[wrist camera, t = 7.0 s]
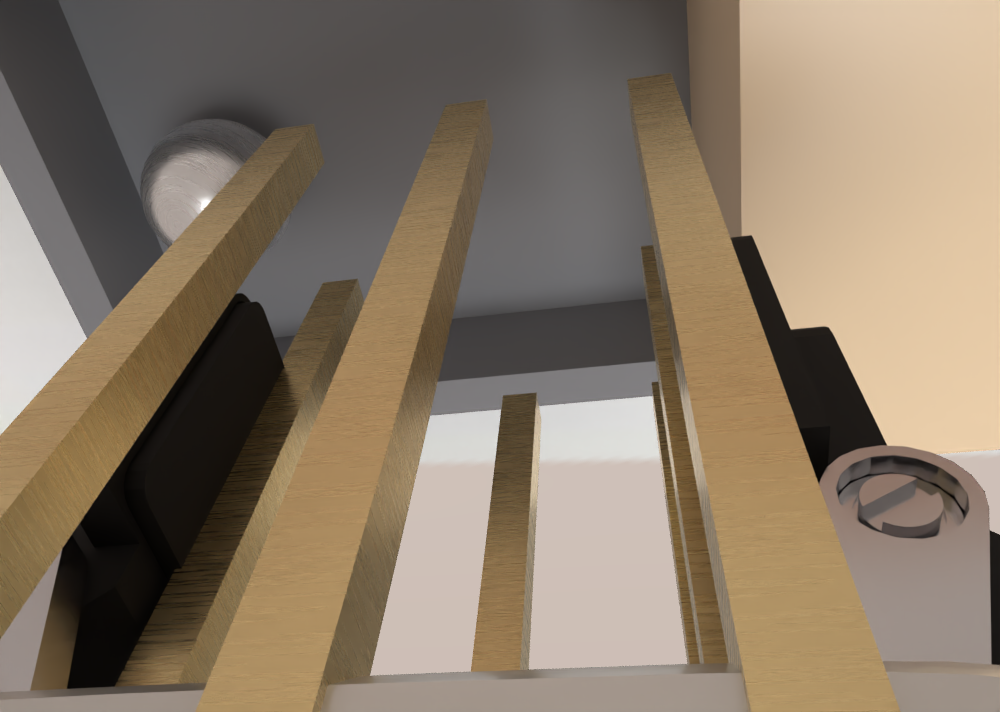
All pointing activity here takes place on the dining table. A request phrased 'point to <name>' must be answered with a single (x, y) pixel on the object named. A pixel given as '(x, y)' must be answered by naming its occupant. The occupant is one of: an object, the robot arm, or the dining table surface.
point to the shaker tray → (558, 170)
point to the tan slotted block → (400, 436)
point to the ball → (194, 173)
